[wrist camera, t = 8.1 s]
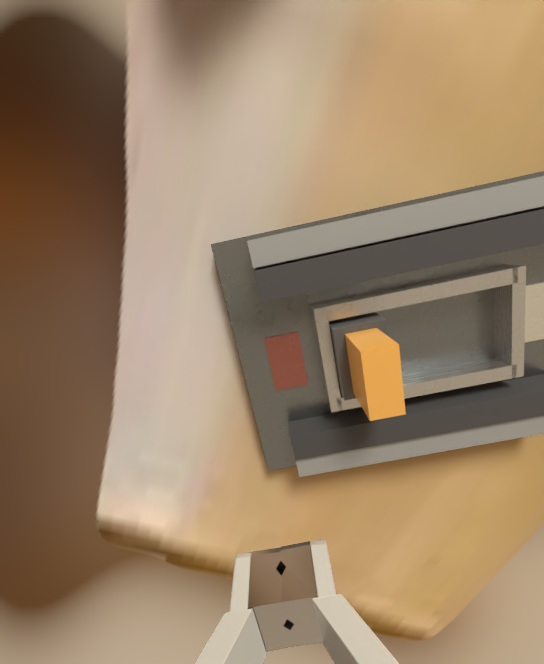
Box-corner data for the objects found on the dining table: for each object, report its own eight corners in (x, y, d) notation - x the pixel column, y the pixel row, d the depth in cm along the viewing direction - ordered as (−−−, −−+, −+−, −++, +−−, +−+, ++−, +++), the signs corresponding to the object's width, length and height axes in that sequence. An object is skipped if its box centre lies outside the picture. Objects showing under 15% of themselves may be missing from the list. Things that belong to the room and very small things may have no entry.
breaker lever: (372, 311, 25) (411, 334, 18) (380, 375, 27) (418, 418, 20) (326, 320, 25) (346, 346, 18) (336, 384, 27) (358, 429, 20)
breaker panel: (573, 166, 24) (631, 150, 20) (559, 404, 30) (602, 427, 26) (215, 244, 26) (205, 243, 22) (268, 457, 31) (268, 486, 28)
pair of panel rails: (558, 173, 22) (591, 164, 20) (547, 416, 28) (572, 432, 26) (248, 241, 24) (246, 240, 21) (297, 462, 29) (299, 480, 27)
